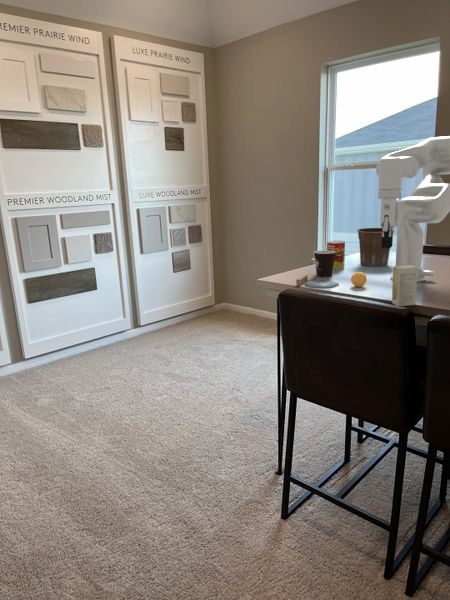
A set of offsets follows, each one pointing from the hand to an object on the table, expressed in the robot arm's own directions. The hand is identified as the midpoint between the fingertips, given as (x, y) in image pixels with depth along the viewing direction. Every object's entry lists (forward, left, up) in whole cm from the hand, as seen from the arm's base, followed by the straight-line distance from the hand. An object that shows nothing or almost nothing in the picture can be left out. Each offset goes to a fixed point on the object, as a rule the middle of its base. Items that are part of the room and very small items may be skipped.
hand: (386, 247), depth 160 cm
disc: (+23, 0, -15) cm, 28 cm away
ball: (+9, 0, -12) cm, 15 cm away
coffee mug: (+27, -18, -15) cm, 36 cm away
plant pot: (+11, -47, -15) cm, 51 cm away
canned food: (+26, -34, -15) cm, 45 cm away
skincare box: (-8, +20, -15) cm, 27 cm away
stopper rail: (+31, 0, -15) cm, 35 cm away
